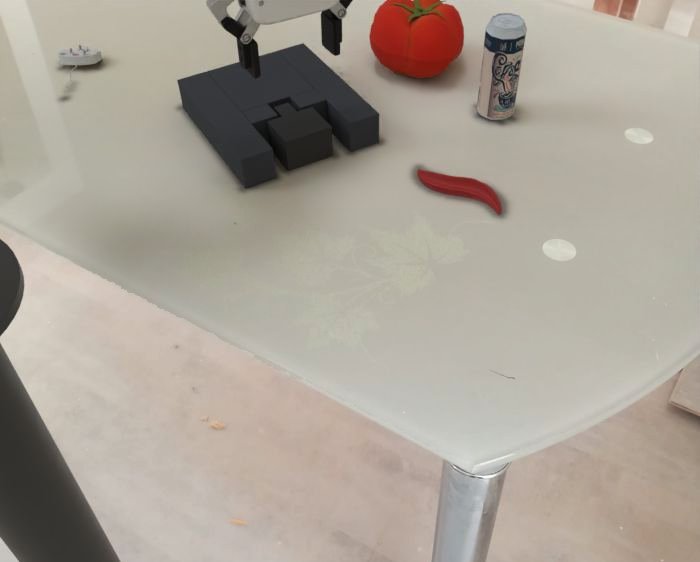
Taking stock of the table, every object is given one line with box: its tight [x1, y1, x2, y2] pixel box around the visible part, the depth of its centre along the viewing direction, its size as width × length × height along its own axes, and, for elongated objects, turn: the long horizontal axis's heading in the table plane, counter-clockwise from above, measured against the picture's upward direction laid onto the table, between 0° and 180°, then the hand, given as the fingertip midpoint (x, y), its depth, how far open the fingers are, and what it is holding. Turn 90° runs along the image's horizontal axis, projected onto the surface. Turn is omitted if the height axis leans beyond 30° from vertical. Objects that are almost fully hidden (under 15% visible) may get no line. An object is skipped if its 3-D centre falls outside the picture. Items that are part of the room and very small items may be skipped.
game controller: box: [57, 44, 103, 99], centre depth 106 cm, size 6×12×3 cm, turn 16°
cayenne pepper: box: [416, 168, 502, 216], centre depth 88 cm, size 12×5×2 cm, turn 41°
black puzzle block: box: [267, 103, 334, 172], centre depth 93 cm, size 6×7×4 cm
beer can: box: [476, 12, 528, 121], centre depth 94 cm, size 5×5×12 cm
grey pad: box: [177, 42, 380, 189], centre depth 96 cm, size 18×20×4 cm
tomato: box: [368, 0, 465, 79], centre depth 103 cm, size 14×13×9 cm
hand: (292, 61), depth 85 cm, fingers open, 9 cm apart
